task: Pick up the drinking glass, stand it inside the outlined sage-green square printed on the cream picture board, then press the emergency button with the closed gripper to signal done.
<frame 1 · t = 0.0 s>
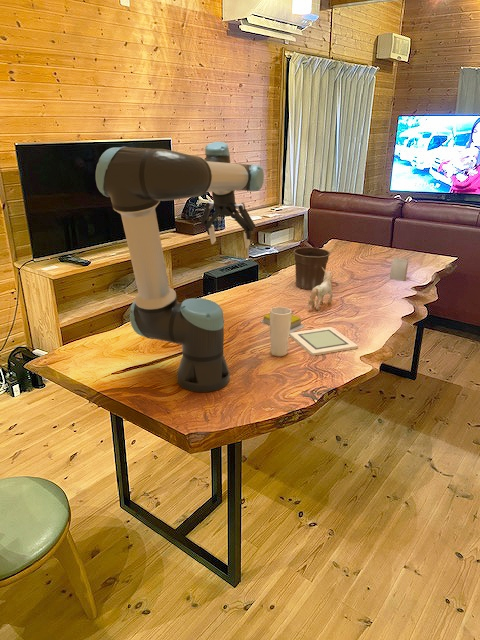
hand: (230, 244, 177), 28 cm above the table, tool tilted 20°, fingers open, 13 cm apart
picture board: (322, 341, 167), on the table
tea bag: (397, 279, 235), on the table
plant pot: (309, 286, 223), on the table
unicorn figurine: (315, 304, 201), on the table
drinking glass: (278, 354, 158), on the table
emergency button: (282, 325, 181), on the table
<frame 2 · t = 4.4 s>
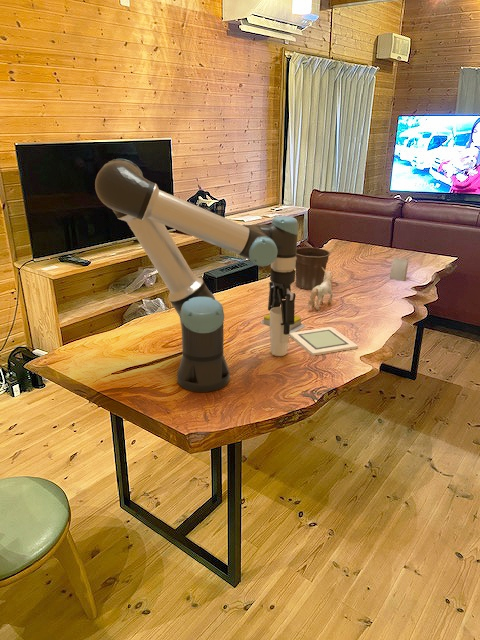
hand: (279, 337, 156), 6 cm above the table, tool pointing down, fingers closed on drinking glass, 7 cm apart
drinking glass: (278, 353, 158), on the table, touching gripper
everything else where it was.
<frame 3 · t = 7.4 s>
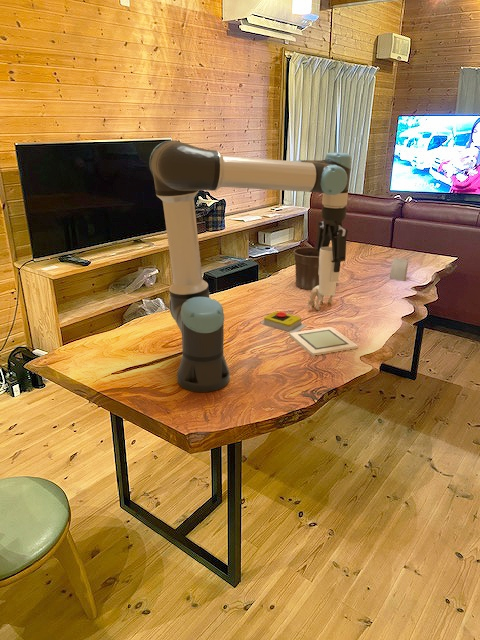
hand: (328, 277, 158), 23 cm above the table, tool pointing down, fingers closed on drinking glass, 7 cm apart
drinking glass: (326, 294, 160), point 17 cm above the table, touching gripper
everything else where it was.
when the fingers open (8 cm above the table, at t = 10.5 s): drinking glass drops 1 cm, resting on picture board.
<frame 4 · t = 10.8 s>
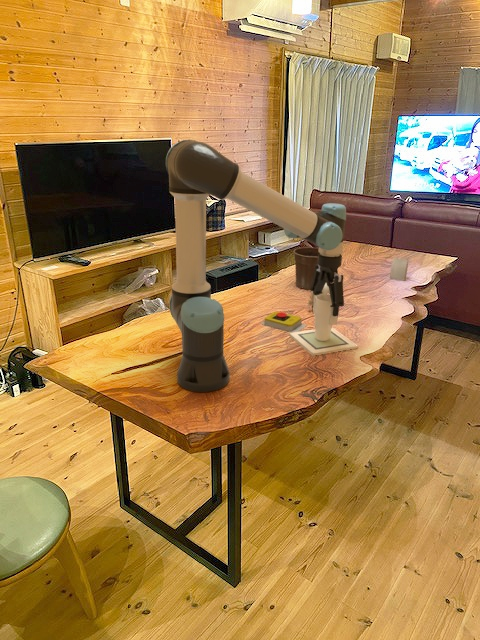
hand: (324, 318, 164), 9 cm above the table, tool pointing down, fingers open, 10 cm apart
drinking glass: (321, 339, 167), point 1 cm above the table, touching picture board
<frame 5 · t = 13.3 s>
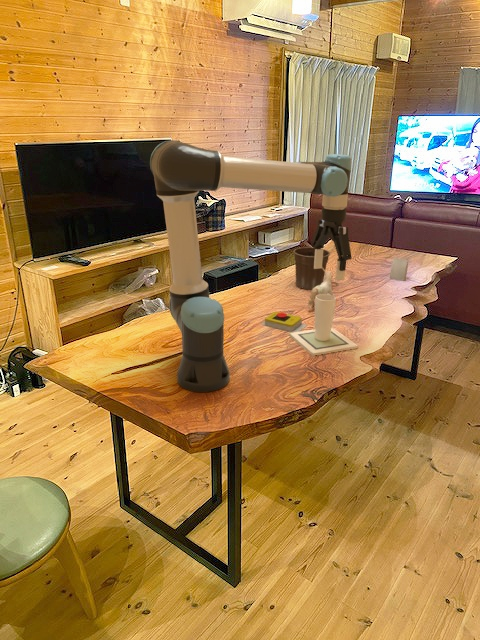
hand: (328, 274, 158), 24 cm above the table, tool pointing down, fingers open, 13 cm apart
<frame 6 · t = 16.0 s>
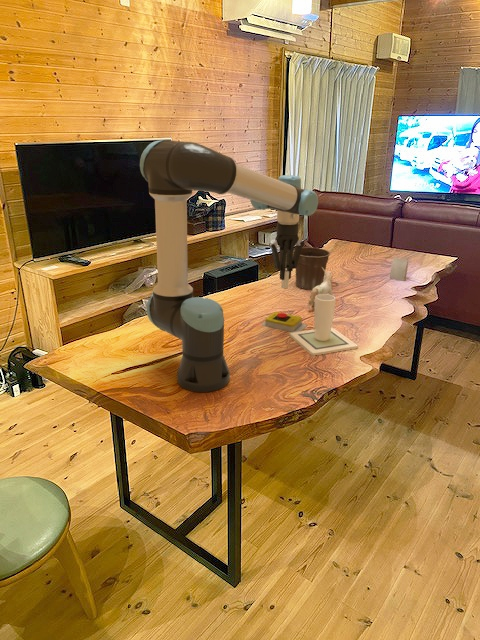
hand: (284, 287, 176), 14 cm above the table, tool pointing down, fingers closed
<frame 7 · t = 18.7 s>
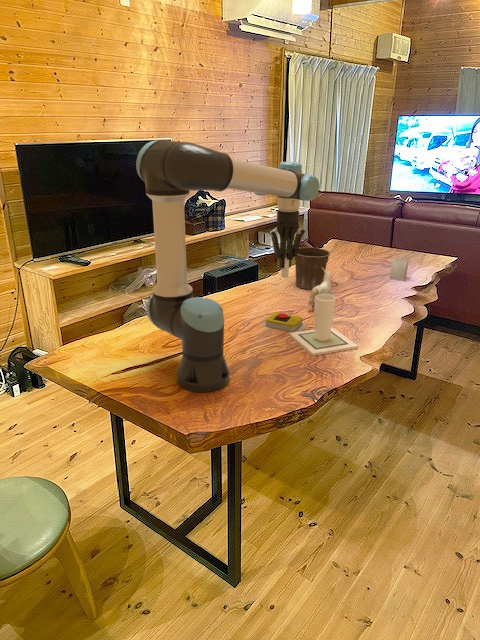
hand: (284, 276, 174), 18 cm above the table, tool pointing down, fingers closed
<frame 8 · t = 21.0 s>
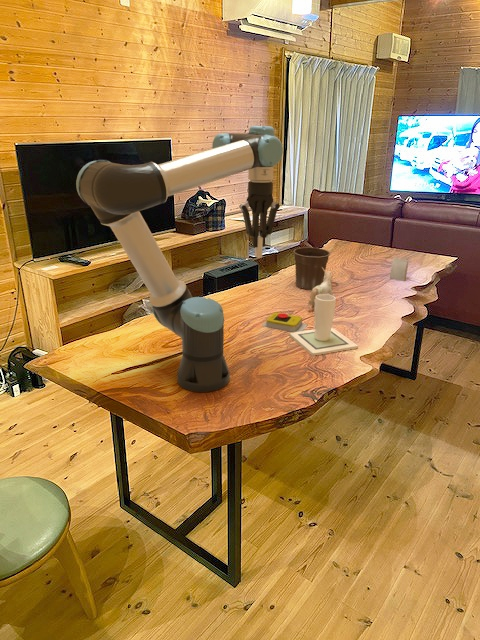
hand: (258, 256, 156), 29 cm above the table, tool pointing down, fingers closed
at the end: drinking glass 0.4 cm off-centre on the picture board, point 0.9 cm above the picture board's base; drinking glass tilted 0°; emergency button moved 1.9 cm from its start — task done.
